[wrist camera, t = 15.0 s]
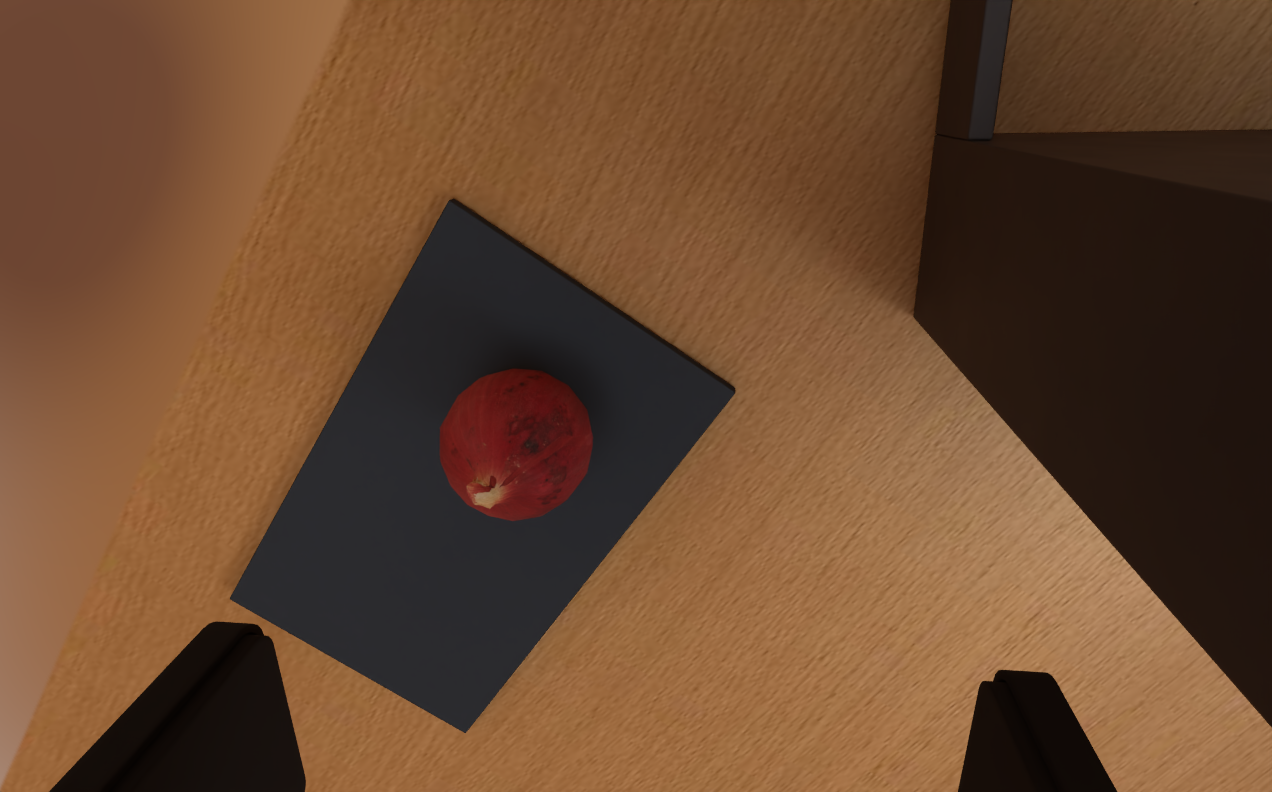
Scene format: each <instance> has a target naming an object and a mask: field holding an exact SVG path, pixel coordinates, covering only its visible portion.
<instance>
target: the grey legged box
mask: <svg viewBox="0 0 1272 792" xmlns="http://www.w3.org/2000/svg"><path fill="white" fill-rule="evenodd" d="M1012 1H1013V0H951V4H950V12H949V21H948V29H947V38H946V46H945V55H944V63H943V72H942V80H941V89H940V97H939V106H938V114H937V123H936V131H935V132H936V134H937V135H935V139H934V147H933V156H932V164H931V173H930V181H929V190H928V198H927V207H926V215H925V224H924V232H923V241H922V249H921V258H920V266H919V275H918V284H917V292H916V301H915V309H914V318H915V319H916V321H917V322H918V323H919V324H920V325H921V326H922V327H923V329H924V330H925V331H926V332H927V333H928V334H929V336H930V337H931V338H932V339H933V340H934V341H935V342H936V344H937V345H938V346H939V347H940V348H941V349H942V350H943V352H944V353H945V354H946V355H947V356H948V357H949V358H950V360H951V361H952V362H953V363H954V364H955V365H956V366H957V368H958V369H959V370H960V371H961V372H962V373H963V374H964V376H965V377H966V378H967V379H968V380H969V381H970V382H971V384H972V385H973V386H974V387H975V388H976V389H977V390H978V392H979V393H980V394H981V395H982V396H983V397H984V398H985V400H986V401H987V402H988V403H989V404H990V405H991V406H992V408H993V409H994V410H995V411H996V412H997V413H998V415H999V416H1000V417H1001V418H1002V419H1003V420H1004V421H1005V423H1006V424H1007V425H1008V426H1009V427H1010V428H1011V429H1012V431H1013V432H1014V433H1015V434H1016V435H1017V436H1018V437H1019V439H1020V440H1021V441H1022V442H1023V443H1024V444H1025V445H1026V447H1027V448H1028V449H1029V450H1030V451H1031V452H1032V453H1033V455H1034V456H1035V457H1036V458H1037V459H1038V460H1039V461H1040V463H1041V464H1042V465H1043V466H1044V467H1045V468H1046V469H1047V471H1048V472H1049V473H1050V474H1051V475H1052V476H1053V477H1054V479H1055V480H1056V481H1057V482H1058V483H1059V484H1060V485H1061V487H1062V488H1063V489H1064V490H1065V491H1066V492H1067V494H1068V495H1069V496H1070V497H1071V498H1072V499H1073V500H1074V502H1075V503H1076V504H1077V505H1078V506H1079V507H1080V508H1081V510H1082V511H1083V512H1084V513H1085V514H1086V515H1087V516H1088V518H1089V519H1090V520H1091V521H1092V522H1093V523H1094V524H1095V526H1096V527H1097V528H1098V529H1099V530H1100V531H1101V532H1102V534H1103V535H1104V536H1105V537H1106V538H1107V539H1108V540H1109V542H1110V543H1111V544H1112V545H1113V546H1114V547H1115V548H1116V550H1117V551H1118V552H1119V553H1120V554H1121V555H1122V556H1123V558H1124V559H1125V560H1126V561H1127V562H1128V563H1129V564H1130V566H1131V567H1132V568H1133V569H1134V570H1135V571H1136V573H1137V574H1138V575H1139V576H1140V577H1141V578H1142V579H1143V581H1144V582H1145V583H1146V584H1147V585H1148V586H1149V587H1150V589H1151V590H1152V591H1153V592H1154V593H1155V594H1156V595H1157V597H1158V598H1159V599H1160V600H1161V601H1162V602H1163V603H1164V605H1165V606H1166V607H1167V608H1168V609H1169V610H1170V611H1171V613H1172V614H1173V615H1174V616H1175V617H1176V618H1177V619H1178V621H1179V622H1180V623H1181V624H1182V625H1183V626H1184V627H1185V629H1186V630H1187V631H1188V632H1189V633H1190V634H1191V635H1192V637H1193V638H1194V639H1195V640H1196V641H1197V642H1198V644H1199V645H1200V646H1201V647H1202V648H1203V649H1204V650H1205V652H1206V653H1207V654H1208V655H1209V656H1210V657H1211V658H1212V660H1213V661H1214V662H1215V663H1216V664H1217V665H1218V666H1219V668H1220V669H1221V670H1222V671H1223V672H1224V673H1225V674H1226V676H1227V677H1228V678H1229V679H1230V680H1231V681H1232V682H1233V684H1234V685H1235V686H1236V687H1237V688H1238V689H1239V690H1240V692H1241V693H1242V694H1243V695H1244V696H1245V697H1246V698H1247V700H1248V701H1249V702H1250V703H1251V704H1252V705H1253V706H1254V708H1255V709H1256V710H1257V711H1258V712H1259V713H1260V714H1261V716H1262V717H1263V718H1264V719H1265V720H1266V721H1267V723H1268V724H1269V725H1270V726H1271V727H1272V129H1270V130H1202V131H1135V132H1068V133H1000V134H993V133H994V126H995V119H996V112H997V105H998V98H999V91H1000V84H1001V77H1002V70H1003V63H1004V56H1005V49H1006V42H1007V35H1008V29H1009V22H1010V15H1011V8H1012Z"/></svg>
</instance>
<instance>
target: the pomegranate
mask: <svg viewBox="0 0 1272 792" xmlns="http://www.w3.org/2000/svg"><path fill="white" fill-rule="evenodd" d="M592 446H593V435H592V431H591V426H590V421H589V416H588V411H587V409H586V407H585V406H584V405H583V404H582V402H581V401H580V400H579V398H578V397H577V396H576V394H575V393H574V392H573V391H572V389H571V388H570V387H569V386H568V385H567V384H565V383H563V382H561V381H559V380H558V379H556V378H554V377H552V376H550V375H549V374H547V373H545V372H543V371H538V370H526V369H514V368H513V369H509V370H505V371H501V372H497V373H493V374H489V375H486V376H484V377H482V378H479V379H478V380H477V381H476V382H474V383H473V384H472V385H471V386H469V387H468V388H467V389H466V390H464V391H463V392H462V393H461V394H459V395H458V396H457V398H456V400H455V402H454V404H453V405H452V407H451V409H450V411H449V412H448V414H447V416H446V418H445V419H444V421H443V423H442V425H441V427H440V461H441V464H442V466H443V469H444V471H445V474H446V476H447V478H448V481H449V483H450V485H451V487H452V488H453V489H454V490H455V491H456V493H457V494H458V495H459V496H460V497H461V498H462V499H463V501H464V502H465V503H466V504H467V505H469V506H471V507H473V508H475V509H476V510H478V511H480V512H482V513H484V514H486V515H488V516H491V517H496V518H501V519H505V520H510V521H516V520H523V519H529V518H535V517H540V516H543V515H544V514H546V513H548V512H549V511H551V510H552V509H554V508H556V507H557V506H559V505H561V504H562V503H563V502H565V501H566V500H567V499H568V498H569V497H570V495H571V494H572V493H573V492H574V490H575V489H576V488H577V486H578V485H579V484H580V482H581V481H582V480H583V478H584V476H585V475H586V473H587V471H588V466H589V461H590V456H591V451H592Z"/></svg>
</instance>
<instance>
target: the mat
mask: <svg viewBox="0 0 1272 792" xmlns="http://www.w3.org/2000/svg"><path fill="white" fill-rule="evenodd" d="M513 368H514V369H526V370H538V371H543V372H545V373H547V374H549V375H550V376H552V377H554V378H556V379H558V380H559V381H561V382H563V383H565V384H567V385H568V386H569V387H570V388H571V389H572V391H573V392H574V393H575V394H576V396H577V397H578V398H579V400H580V401H581V402H582V404H583V405H584V406H585V407H586V409H587V411H588V416H589V421H590V426H591V431H592V435H593V446H592V451H591V456H590V461H589V466H588V471H587V473H586V475H585V476H584V478H583V480H582V481H581V482H580V484H579V485H578V486H577V488H576V489H575V490H574V492H573V493H572V494H571V495H570V497H569V498H568V499H567V500H566V501H565V502H563V503H562V504H561V505H559V506H557V507H556V508H554V509H552V510H551V511H549V512H548V513H546V514H544V515H543V516H540V517H535V518H529V519H523V520H516V521H510V520H505V519H501V518H496V517H491V516H488V515H486V514H484V513H482V512H480V511H478V510H476V509H475V508H473V507H471V506H469V505H467V504H466V503H465V502H464V501H463V499H462V498H461V497H460V496H459V495H458V494H457V493H456V491H455V490H454V489H453V488H452V487H451V485H450V483H449V481H448V478H447V476H446V474H445V471H444V469H443V466H442V464H441V461H440V427H441V425H442V423H443V421H444V419H445V418H446V416H447V414H448V412H449V411H450V409H451V407H452V405H453V404H454V402H455V400H456V398H457V396H458V395H459V394H461V393H462V392H463V391H464V390H466V389H467V388H468V387H469V386H471V385H472V384H473V383H474V382H476V381H477V380H478V379H479V378H482V377H484V376H486V375H489V374H493V373H497V372H501V371H505V370H509V369H513ZM734 394H735V388H734V387H733V386H732V385H730V384H729V383H727V382H726V381H724V380H723V379H721V378H720V377H718V376H717V375H715V374H714V373H712V372H711V371H709V370H708V369H706V368H705V367H703V366H702V365H700V364H699V363H697V362H696V361H694V360H693V359H691V358H690V357H688V356H687V355H685V354H684V353H683V352H681V351H680V350H678V349H677V348H675V347H674V346H672V345H671V344H669V343H668V342H666V341H665V340H663V339H662V338H660V337H659V336H657V335H656V334H654V333H653V332H651V331H650V330H648V329H647V328H645V327H644V326H642V325H641V324H639V323H638V322H637V321H635V320H634V319H632V318H631V317H629V316H628V315H626V314H625V313H623V312H622V311H620V310H619V309H617V308H616V307H614V306H613V305H611V304H610V303H608V302H607V301H605V300H604V299H602V298H601V297H599V296H598V295H596V294H595V293H593V292H592V291H590V290H589V289H588V288H586V287H585V286H583V285H582V284H580V283H579V282H577V281H576V280H574V279H573V278H571V277H570V276H568V275H567V274H565V273H564V272H562V271H561V270H559V269H558V268H556V267H555V266H553V265H552V264H550V263H549V262H547V261H546V260H544V259H543V258H541V257H540V256H539V255H537V254H536V253H534V252H533V251H531V250H530V249H528V248H527V247H525V246H524V245H522V244H521V243H519V242H518V241H516V240H515V239H513V238H512V237H510V236H509V235H507V234H506V233H504V232H503V231H501V230H500V229H498V228H497V227H495V226H494V225H493V224H491V223H490V222H488V221H487V220H485V219H484V218H482V217H481V216H479V215H478V214H476V213H475V212H473V211H472V210H470V209H469V208H467V207H466V206H464V205H463V204H461V203H460V202H458V201H457V200H455V199H451V200H449V201H448V203H447V205H446V207H445V208H444V210H443V212H442V214H441V216H440V218H439V219H438V221H437V223H436V225H435V227H434V228H433V230H432V232H431V234H430V236H429V237H428V239H427V241H426V243H425V245H424V247H423V248H422V250H421V252H420V254H419V256H418V257H417V259H416V261H415V263H414V265H413V267H412V268H411V270H410V272H409V274H408V276H407V277H406V279H405V281H404V283H403V285H402V287H401V288H400V290H399V292H398V294H397V296H396V297H395V299H394V301H393V303H392V305H391V306H390V308H389V310H388V312H387V314H386V316H385V317H384V319H383V321H382V323H381V325H380V326H379V328H378V330H377V332H376V334H375V336H374V337H373V339H372V341H371V343H370V345H369V346H368V348H367V350H366V352H365V354H364V356H363V357H362V359H361V361H360V363H359V365H358V366H357V368H356V370H355V372H354V374H353V375H352V377H351V379H350V381H349V383H348V385H347V386H346V388H345V390H344V392H343V394H342V395H341V397H340V399H339V401H338V403H337V405H336V406H335V408H334V410H333V412H332V414H331V415H330V417H329V419H328V421H327V423H326V425H325V426H324V428H323V430H322V432H321V434H320V435H319V437H318V439H317V441H316V443H315V444H314V446H313V448H312V450H311V452H310V454H309V455H308V457H307V459H306V461H305V463H304V464H303V466H302V468H301V470H300V472H299V474H298V475H297V477H296V479H295V481H294V483H293V484H292V486H291V488H290V490H289V492H288V494H287V495H286V497H285V499H284V501H283V503H282V504H281V506H280V508H279V510H278V512H277V514H276V515H275V517H274V519H273V521H272V523H271V524H270V526H269V528H268V530H267V532H266V533H265V535H264V537H263V539H262V541H261V543H260V544H259V546H258V548H257V550H256V552H255V553H254V555H253V557H252V559H251V561H250V563H249V564H248V566H247V568H246V570H245V572H244V573H243V575H242V577H241V579H240V581H239V583H238V584H237V586H236V588H235V590H234V592H233V593H232V595H231V597H230V599H231V600H232V601H234V602H236V603H238V604H239V605H241V606H243V607H245V608H246V609H248V610H250V611H252V612H253V613H255V614H257V615H259V616H260V617H262V618H264V619H266V620H267V621H269V622H271V623H273V624H274V625H276V626H278V627H280V628H281V629H283V630H285V631H287V632H288V633H290V634H292V635H294V636H296V637H297V638H299V639H301V640H303V641H304V642H306V643H308V644H310V645H311V646H313V647H315V648H317V649H318V650H320V651H322V652H324V653H325V654H327V655H329V656H331V657H332V658H334V659H336V660H338V661H339V662H341V663H343V664H345V665H346V666H348V667H350V668H352V669H353V670H355V671H357V672H359V673H360V674H362V675H364V676H366V677H368V678H369V679H371V680H373V681H375V682H376V683H378V684H380V685H382V686H383V687H385V688H387V689H389V690H390V691H392V692H394V693H396V694H397V695H399V696H401V697H403V698H404V699H406V700H408V701H410V702H411V703H413V704H415V705H417V706H418V707H420V708H422V709H424V710H425V711H427V712H429V713H431V714H433V715H434V716H436V717H438V718H440V719H441V720H443V721H445V722H447V723H448V724H450V725H452V726H454V727H455V728H457V729H459V730H461V731H462V732H464V733H466V732H467V731H468V730H469V728H470V727H471V726H472V724H473V723H474V722H475V721H476V719H477V718H478V717H479V716H480V714H481V713H482V712H483V711H484V709H485V708H486V707H487V706H488V704H489V703H490V702H491V700H492V699H493V698H494V697H495V695H496V694H497V693H498V692H499V690H500V689H501V688H502V687H503V685H504V684H505V683H506V682H507V680H508V679H509V678H510V677H511V675H512V674H513V673H514V671H515V670H516V669H517V668H518V666H519V665H520V664H521V663H522V661H523V660H524V659H525V658H526V656H527V655H528V654H529V653H530V651H531V650H532V649H533V648H534V646H535V645H536V644H537V642H538V641H539V640H540V639H541V637H542V636H543V635H544V634H545V632H546V631H547V630H548V629H549V627H550V626H551V625H552V624H553V622H554V621H555V620H556V618H557V617H558V616H559V615H560V613H561V612H562V611H563V610H564V608H565V607H566V606H567V605H568V603H569V602H570V601H571V600H572V598H573V597H574V596H575V595H576V593H577V592H578V591H579V589H580V588H581V587H582V586H583V584H584V583H585V582H586V581H587V579H588V578H589V577H590V576H591V574H592V573H593V572H594V571H595V569H596V568H597V567H598V566H599V564H600V563H601V562H602V560H603V559H604V558H605V557H606V555H607V554H608V553H609V552H610V550H611V549H612V548H613V547H614V545H615V544H616V543H617V542H618V540H619V539H620V538H621V536H622V535H623V534H624V533H625V531H626V530H627V529H628V528H629V526H630V525H631V524H632V523H633V521H634V520H635V519H636V518H637V516H638V515H639V514H640V513H641V511H642V510H643V509H644V507H645V506H646V505H647V504H648V502H649V501H650V500H651V499H652V497H653V496H654V495H655V494H656V492H657V491H658V490H659V489H660V487H661V486H662V485H663V484H664V482H665V481H666V480H667V478H668V477H669V476H670V475H671V473H672V472H673V471H674V470H675V468H676V467H677V466H678V465H679V463H680V462H681V461H682V460H683V458H684V457H685V456H686V454H687V453H688V452H689V451H690V449H691V448H692V447H693V446H694V444H695V443H696V442H697V441H698V439H699V438H700V437H701V436H702V434H703V433H704V432H705V431H706V429H707V428H708V427H709V425H710V424H711V423H712V422H713V420H714V419H715V418H716V417H717V415H718V414H719V413H720V412H721V410H722V409H723V408H724V407H725V405H726V404H727V403H728V402H729V400H730V399H731V398H732V396H733V395H734Z"/></svg>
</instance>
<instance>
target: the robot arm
mask: <svg viewBox="0 0 1272 792" xmlns="http://www.w3.org/2000/svg"><path fill="white" fill-rule="evenodd" d="M305 785H306V780H305V774H304V770H303V765H302V761H301V757H300V753H299V749H298V744H297V740H296V736H295V732H294V728H293V723H292V719H291V715H290V711H289V707H288V703H287V698H286V694H285V690H284V686H283V682H282V677H281V673H280V669H279V665H278V661H277V656H276V652H275V648H274V644H273V642H272V639H271V638H270V637H269V636H264V634H263V632H262V629H261V628H260V627H259V626H258V625H255V624H247V623H231V622H213V623H210V624H208V625H207V626H206V627H205V628H203V629H202V630H201V631H200V633H199V634H198V635H197V636H196V637H195V638H194V639H193V640H192V641H191V642H190V643H189V644H188V645H187V646H186V647H185V648H184V649H183V650H182V652H181V653H180V654H179V655H178V656H177V657H176V658H175V659H174V660H173V661H172V662H171V663H170V664H169V665H168V666H167V667H166V668H165V670H164V671H163V672H162V673H161V674H160V675H159V676H158V677H157V678H156V679H155V680H154V681H153V682H152V683H151V684H150V685H149V686H148V688H147V689H146V690H145V691H144V692H143V693H142V694H141V695H140V696H139V697H138V698H137V699H136V700H135V701H134V702H133V703H132V704H131V706H130V707H129V708H128V709H127V710H126V711H125V712H124V713H123V714H122V715H121V716H120V717H119V718H118V719H117V720H116V721H115V722H114V723H113V725H112V726H111V727H110V728H109V729H108V730H107V731H106V732H105V733H104V734H103V735H102V736H101V737H100V738H99V739H98V740H97V741H96V743H95V744H94V745H93V746H92V747H91V748H90V749H89V750H88V751H87V752H86V753H85V754H84V755H83V756H82V757H81V758H80V759H79V761H78V762H77V763H76V764H75V765H74V766H73V767H72V768H71V769H70V770H69V771H68V772H67V773H66V774H65V775H64V776H63V777H62V779H61V780H60V781H59V782H58V783H57V784H56V785H55V786H54V787H53V788H52V789H51V790H50V791H49V792H305ZM958 792H1117V790H1116V789H1115V787H1114V785H1113V783H1112V781H1111V780H1110V778H1109V776H1108V774H1107V772H1106V771H1105V769H1104V767H1103V765H1102V763H1101V762H1100V760H1099V758H1098V756H1097V754H1096V753H1095V751H1094V749H1093V747H1092V745H1091V744H1090V742H1089V740H1088V738H1087V736H1086V735H1085V733H1084V731H1083V729H1082V727H1081V726H1080V724H1079V722H1078V720H1077V718H1076V717H1075V715H1074V713H1073V711H1072V709H1071V708H1070V706H1069V704H1068V702H1067V700H1066V699H1065V697H1064V695H1063V693H1062V691H1061V689H1060V688H1059V686H1058V684H1057V682H1056V681H1055V679H1054V678H1053V677H1052V676H1051V675H1050V674H1048V673H1044V672H1028V671H1012V670H999V671H998V672H997V673H996V674H995V677H994V680H993V682H992V681H982V683H981V684H980V687H979V691H978V695H977V700H976V705H975V710H974V715H973V720H972V725H971V730H970V735H969V740H968V745H967V750H966V755H965V760H964V765H963V769H962V774H961V779H960V784H959V789H958Z"/></svg>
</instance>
